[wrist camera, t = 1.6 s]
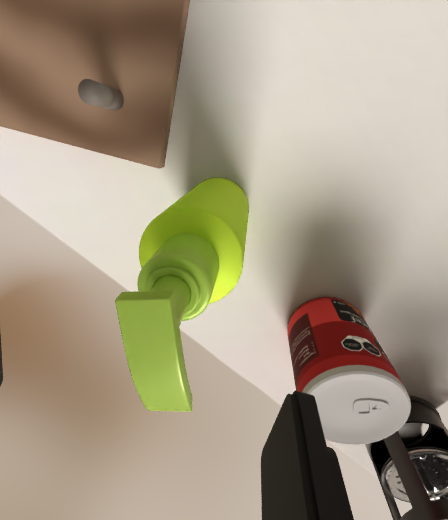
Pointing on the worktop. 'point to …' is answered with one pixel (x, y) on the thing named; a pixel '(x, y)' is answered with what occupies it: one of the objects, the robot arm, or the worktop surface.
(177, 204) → the soap dispenser
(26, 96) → the peg stand
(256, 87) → the worktop surface
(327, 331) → the canned food
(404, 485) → the french press
